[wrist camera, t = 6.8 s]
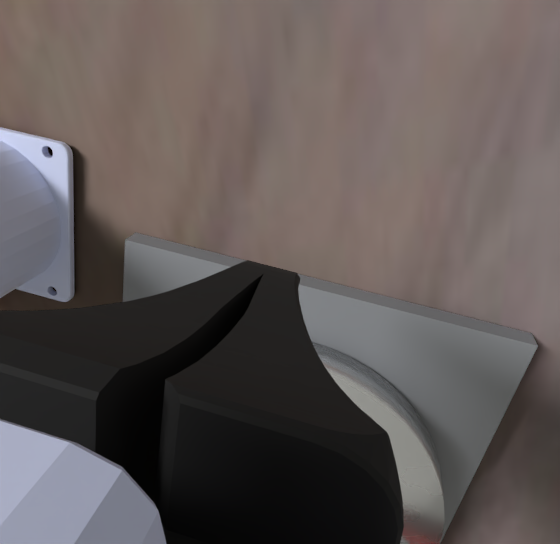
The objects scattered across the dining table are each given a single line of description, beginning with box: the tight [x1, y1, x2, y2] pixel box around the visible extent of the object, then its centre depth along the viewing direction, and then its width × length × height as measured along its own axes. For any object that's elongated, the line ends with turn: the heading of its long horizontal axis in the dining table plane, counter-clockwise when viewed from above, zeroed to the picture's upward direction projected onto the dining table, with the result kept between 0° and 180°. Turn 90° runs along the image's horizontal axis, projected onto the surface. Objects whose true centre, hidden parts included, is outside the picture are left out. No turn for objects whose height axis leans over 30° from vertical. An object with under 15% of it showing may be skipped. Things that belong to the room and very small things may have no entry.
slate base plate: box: [123, 233, 538, 543], centre depth 25 cm, size 18×21×1 cm
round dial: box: [312, 342, 445, 544], centre depth 23 cm, size 16×16×4 cm
